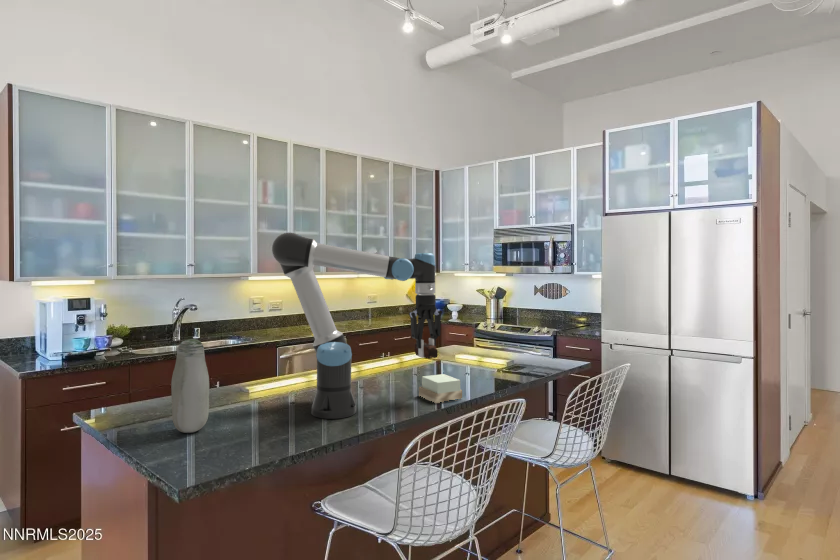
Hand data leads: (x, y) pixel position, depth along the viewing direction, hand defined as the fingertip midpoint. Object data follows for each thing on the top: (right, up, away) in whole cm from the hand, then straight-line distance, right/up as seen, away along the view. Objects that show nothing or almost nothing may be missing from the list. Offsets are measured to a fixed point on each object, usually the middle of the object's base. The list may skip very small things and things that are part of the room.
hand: (426, 356), depth 195 cm
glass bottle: (-72, -17, -38) cm, 83 cm away
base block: (+5, -17, +4) cm, 18 cm away
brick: (0, -1, 0) cm, 1 cm away
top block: (+6, -13, +4) cm, 15 cm away
